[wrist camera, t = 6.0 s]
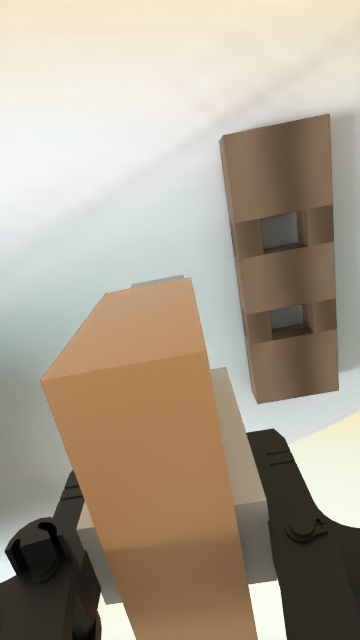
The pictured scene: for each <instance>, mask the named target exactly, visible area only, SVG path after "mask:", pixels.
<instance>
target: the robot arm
mask: <svg viewBox="0 0 360 640" xmlns="http://www.w3.org/2000/svg"><path fill="white" fill-rule="evenodd" d="M210 374H211V380H212V385H213V391H214V396H215V402H216V408H217V413H218V419H219V424H220V430H221V436H222V441H223V447H224V453H225V458H226V464H227V469H228V475H229V481H230V486H231V492H232V497H233V503H234V509H235V514H236V520H237V525H238V531H239V537H240V542H241V548H242V554H243V559H244V565H245V570H246V576H247V582H248V584H255V583H261V582H269V581H276V580H277V578H278V582H279V586H280V589H281V597H282V605H283V613H284V621H285V628H286V636H287V640H360V528H353V527H349V526H345V525H341V524H339V523H337V522H335V521H332V520H331V519H329V518H328V517H326V516H325V515H324V514H323V513H322V512H321V511H320V510H319V509H318V508H317V506H316V505H315V503H314V501H313V499H312V497H311V494H310V492H309V490H308V488H307V486H306V484H305V481H304V479H303V477H302V475H301V473H300V471H299V468H298V467H297V464H296V463H295V460H294V458H293V455H292V453H291V452H290V449H289V447H288V445H287V442H286V440H285V438H284V437H283V436H282V435H280V434H279V433H278V432H277V431H276V430H274V429H267V430H261V431H255V432H249V433H246V431H245V428H244V425H243V422H242V418H241V415H240V412H239V409H238V405H237V402H236V399H235V396H234V392H233V389H232V386H231V383H230V379H229V376H228V373H227V370H226V367H224V368H218V369H213V370H210ZM64 488H65V490H63V493H62V495H61V498H60V502H59V503H58V506H57V508H56V511H55V513H54V516H53V518H51V517H47V518H40V519H37V520H35V521H33V522H30V523H29V524H27V525H26V526H25V527H23V528H22V529H20V530H19V531H18V532H17V533H16V534H15V536H14V537H13V538H12V539H11V540H10V542H9V544H8V546H7V547H6V549H5V553H6V555H7V557H8V559H9V561H10V563H11V565H12V567H13V569H14V571H15V573H16V575H15V576H14V577H12V578H10V579H8V580H6V581H4V582H2V583H0V640H101V629H102V628H101V620H100V616H99V614H98V611H97V608H98V603H99V598H100V593H102V596H103V598H104V601H105V603H106V605H108V604H115V603H122V599H121V597H120V594H119V591H118V589H117V586H116V583H115V580H114V578H113V575H112V572H111V570H110V567H109V564H108V562H107V559H106V556H105V554H104V551H103V548H102V545H101V543H100V540H99V537H98V535H97V532H96V529H95V527H94V524H93V521H92V518H91V516H90V513H89V510H88V508H87V505H86V502H85V500H84V497H83V494H82V492H81V489H80V486H79V483H78V481H77V478H76V475H75V473H74V470H73V471H72V472H71V473H70V474H69V477H68V480H67V482H66V485H65V487H64Z"/></svg>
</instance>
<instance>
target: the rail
mask: <svg viewBox="0 0 360 640" xmlns="http://www.w3.org/2000/svg"><path fill="white" fill-rule="evenodd" d="M219 144H220V151H221V159H222V166H223V174H224V182H225V189H226V197H227V204H228V212H229V220H230V227H231V235H232V242H233V250H234V258H235V265H236V273H237V280H238V288H239V296H240V303H241V311H242V318H243V326H244V334H245V341H246V349H247V356H248V364H249V372H250V379H251V387H252V392H253V394H254V397H255V399H256V401H257V404H261V403H267V402H273V401H279V400H285V399H291V398H297V397H303V396H309V395H314V394H320V393H326V392H332V391H338V390H339V381H338V350H337V320H336V290H335V260H334V229H333V199H332V169H331V139H330V114H326V115H321V116H316V117H311V118H306V119H301V120H296V121H291V122H286V123H282V124H277V125H272V126H267V127H262V128H257V129H252V130H247V131H242V132H238V133H233V134H228V135H223V137H222V138H221V139H220V141H219ZM291 212H296V215H297V230H298V243H295V244H290V245H285V246H280V247H274V248H269V249H264V250H263V242H262V232H261V222H260V218H265V217H270V216H275V215H280V214H286V213H291ZM302 304H303V318H304V324H302V325H296V326H291V327H285V328H279V329H274V330H271V320H270V310H274V309H279V308H285V307H291V306H296V305H302Z"/></svg>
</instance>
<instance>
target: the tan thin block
mask: <svg viewBox="0 0 360 640" xmlns="http://www.w3.org/2000/svg"><path fill="white" fill-rule="evenodd" d="M40 381H41V384H42V386H43V389H44V392H45V394H46V397H47V400H48V403H49V405H50V408H51V411H52V413H53V416H54V419H55V421H56V424H57V427H58V430H59V432H60V435H61V438H62V440H63V443H64V446H65V448H66V451H67V454H68V456H69V459H70V462H71V465H72V467H73V470H74V473H75V475H76V478H77V481H78V483H79V486H80V489H81V492H82V494H83V497H84V500H85V502H86V505H87V508H88V510H89V513H90V516H91V518H92V521H93V524H94V527H95V529H96V532H97V535H98V537H99V540H100V543H101V545H102V548H103V551H104V554H105V556H106V559H107V562H108V564H109V567H110V570H111V572H112V575H113V578H114V580H115V583H116V586H117V589H118V591H119V594H120V597H121V599H122V602H123V604H124V607H125V610H126V613H127V615H128V618H129V621H130V623H131V626H132V629H133V631H134V634H135V637H136V640H258V638H257V632H256V627H255V621H254V615H253V610H252V604H251V598H250V593H249V587H248V582H247V576H246V570H245V565H244V559H243V554H242V548H241V542H240V537H239V531H238V525H237V520H236V514H235V509H234V503H233V497H232V492H231V486H230V481H229V475H228V469H227V464H226V458H225V453H224V447H223V441H222V436H221V430H220V424H219V419H218V413H217V408H216V402H215V396H214V391H213V385H212V380H211V374H210V368H209V363H208V357H207V351H206V347H205V342H204V337H203V332H202V328H201V323H200V318H199V314H198V309H197V304H196V299H195V295H194V290H193V285H192V280H191V277H190V278H185V279H184V277H183V275H179V276H174V277H169V278H163V279H158V280H153V281H148V282H142V283H137V284H132V286H131V288H130V289H127V290H121V291H116V292H111V293H105V295H104V296H103V297H102V299H101V300H100V301H99V303H98V304H97V305H96V307H95V308H94V309H93V311H92V312H91V313H90V315H89V316H88V317H87V319H86V320H85V321H84V323H83V324H82V325H81V327H80V328H79V329H78V331H77V332H76V333H75V335H74V336H73V337H72V339H71V340H70V342H69V343H68V344H67V346H66V347H65V348H64V350H63V351H62V352H61V354H60V355H59V356H58V358H57V359H56V360H55V362H54V363H53V364H52V366H51V367H50V368H49V370H48V371H47V372H46V374H45V375H44V376H43V378H42V379H41V380H40Z"/></svg>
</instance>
